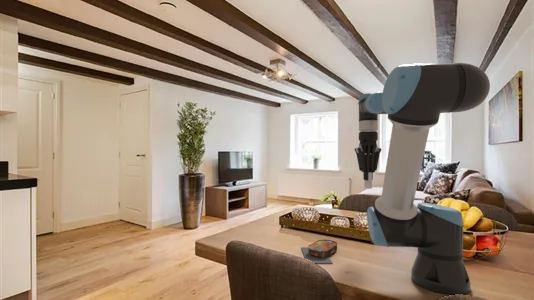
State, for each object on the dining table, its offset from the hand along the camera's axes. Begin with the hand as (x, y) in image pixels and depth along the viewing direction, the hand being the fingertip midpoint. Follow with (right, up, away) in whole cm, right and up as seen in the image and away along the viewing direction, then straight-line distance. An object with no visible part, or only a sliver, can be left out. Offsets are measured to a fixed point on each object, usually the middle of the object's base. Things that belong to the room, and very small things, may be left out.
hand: (368, 188), depth 117 cm
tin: (-17, -23, -10) cm, 30 cm away
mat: (-24, -24, -10) cm, 35 cm away
